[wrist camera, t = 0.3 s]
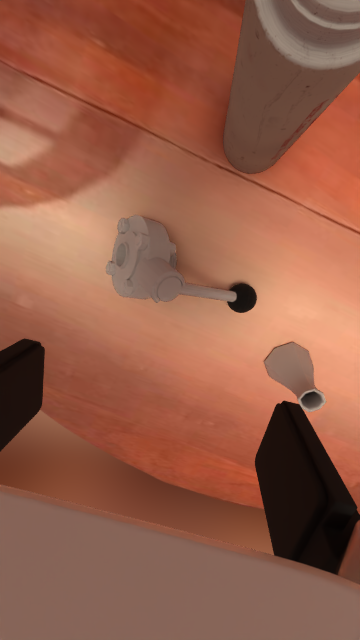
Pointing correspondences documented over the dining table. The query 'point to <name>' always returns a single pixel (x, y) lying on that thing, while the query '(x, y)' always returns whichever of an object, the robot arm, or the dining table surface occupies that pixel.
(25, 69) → the dining table surface
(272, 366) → the flask
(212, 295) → the mechanical valve
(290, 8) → the thermos bottle
